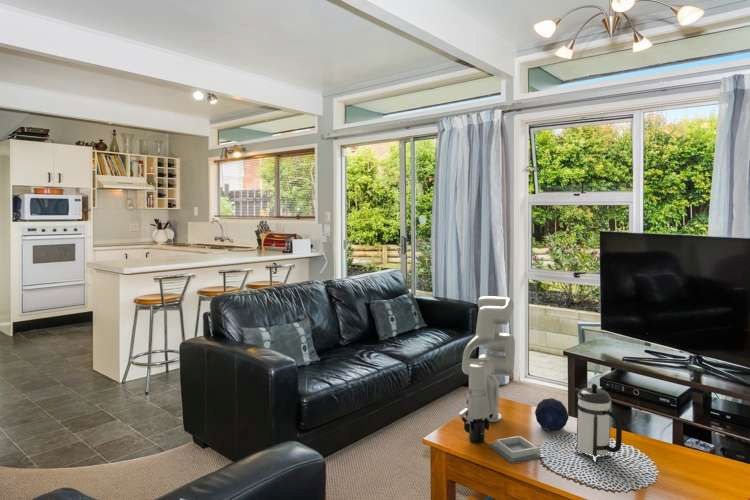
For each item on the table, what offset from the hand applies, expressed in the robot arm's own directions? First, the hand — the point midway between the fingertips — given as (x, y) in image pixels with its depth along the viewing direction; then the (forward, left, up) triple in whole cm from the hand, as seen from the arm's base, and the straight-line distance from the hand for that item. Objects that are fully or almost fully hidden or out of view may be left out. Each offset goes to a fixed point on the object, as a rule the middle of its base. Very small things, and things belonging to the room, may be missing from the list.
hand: (476, 430), depth 220 cm
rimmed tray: (+15, +10, -5) cm, 19 cm away
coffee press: (+29, +39, -5) cm, 49 cm away
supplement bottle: (0, 0, -5) cm, 5 cm away
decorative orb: (+1, +39, -5) cm, 40 cm away
